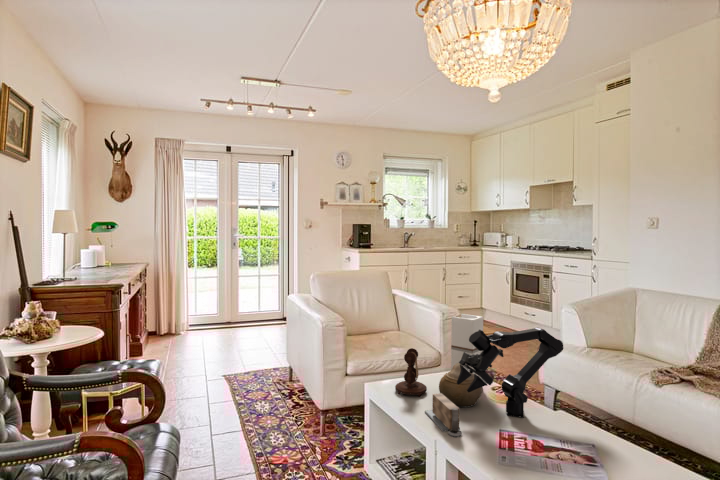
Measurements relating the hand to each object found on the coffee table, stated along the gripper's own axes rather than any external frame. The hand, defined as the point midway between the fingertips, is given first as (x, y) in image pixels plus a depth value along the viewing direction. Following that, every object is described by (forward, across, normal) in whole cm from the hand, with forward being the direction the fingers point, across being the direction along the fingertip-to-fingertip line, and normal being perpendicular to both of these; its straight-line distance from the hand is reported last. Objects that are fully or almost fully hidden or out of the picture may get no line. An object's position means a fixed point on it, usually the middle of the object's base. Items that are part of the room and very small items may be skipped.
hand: (462, 387), depth 176 cm
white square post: (-3, -32, +23) cm, 40 cm away
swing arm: (+14, +3, +1) cm, 14 cm away
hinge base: (+15, +11, +3) cm, 19 cm away
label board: (+15, -1, +3) cm, 16 cm away
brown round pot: (+5, -17, +14) cm, 23 cm away
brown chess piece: (+16, -34, +2) cm, 37 cm away
